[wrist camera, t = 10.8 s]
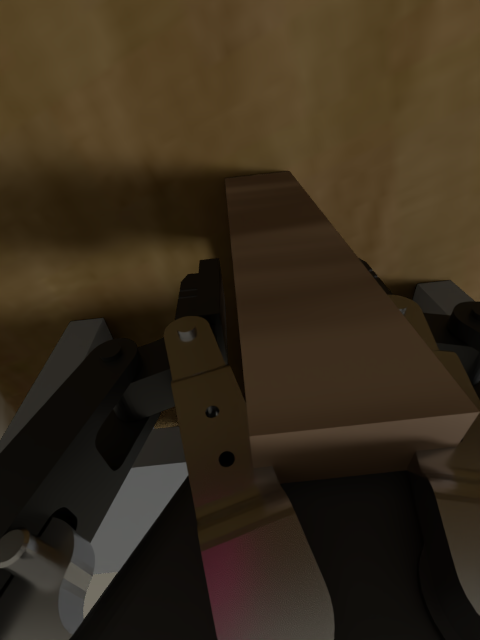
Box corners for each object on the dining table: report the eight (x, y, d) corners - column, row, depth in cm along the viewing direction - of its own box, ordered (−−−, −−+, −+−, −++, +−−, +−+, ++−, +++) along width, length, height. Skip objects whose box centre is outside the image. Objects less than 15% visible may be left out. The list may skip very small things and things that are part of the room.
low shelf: (62, 322, 19) (-40, 486, 11) (459, 279, 19) (623, 415, 11) (125, 432, 26) (89, 574, 19) (408, 402, 26) (486, 532, 19)
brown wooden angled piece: (159, 185, 14) (19, 461, 4) (354, 164, 14) (712, 387, 4) (215, 422, 26) (216, 644, 16) (322, 410, 26) (391, 626, 16)
